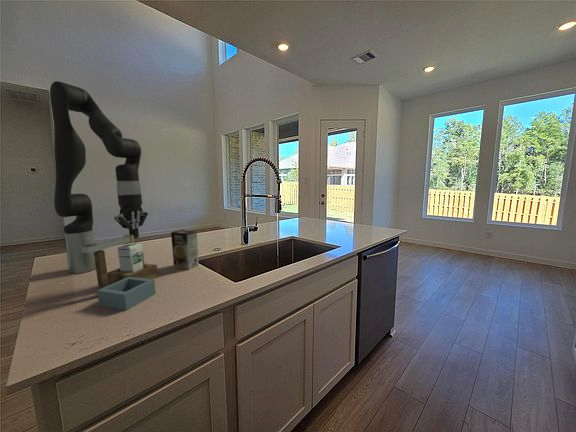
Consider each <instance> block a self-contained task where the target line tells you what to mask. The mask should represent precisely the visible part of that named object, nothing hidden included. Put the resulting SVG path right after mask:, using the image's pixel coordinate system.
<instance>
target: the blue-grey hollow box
mask: <svg viewBox="0 0 576 432" xmlns="http://www.w3.org/2000/svg"><path fill="white" fill-rule="evenodd" d="M155 283H156V282H155V279H144V278H136V277H127V278H125V279H122V280H120V281H118V282H115V283H113V284H111V285H108V286H106V287H104V288H102V289H99V288H98V290H96V293H97V299H98V306H100V307H106V308H111V309H118V310H122V311H128V310H130V309H132V308H133V307H135V306H136V305H139V304H140V303H142V302H144V301H145V300H147V299H149V298H150V297H152V296H154V295H156V294H157V293H156V284H155Z"/></svg>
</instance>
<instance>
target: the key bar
mask: <svg viewBox="0 0 576 432" xmlns="http://www.w3.org/2000/svg"><path fill="white" fill-rule="evenodd" d="M129 243H136V242H135V239H134V235H129V234H124V235H122V236H118V237H115V238H111V239H107V240H102V241H99V242H94V244H90V245H86V246H82V247H81V250H82V253H92V252H96V251H99V250H106V249H107V250H108V249H111V248H114V247H117V246H120V245H121V246H122V245H123V244H124V245H125V244H129Z"/></svg>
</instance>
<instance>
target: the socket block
mask: <svg viewBox="0 0 576 432" xmlns="http://www.w3.org/2000/svg"><path fill="white" fill-rule="evenodd" d="M94 258H95V265H96V269H95V272H96V278H97V286H98V290H99V289H102V288H104V287H106V286H108V285H111V284H113V283H115V282H118V281H120V280H122V279H125V278H127V277H136V278H144V279H152V280H155V279H156V278H158V277H159V275H158V274H159V273H158V265H157V264H151V263H144V265H145V268H143V269H141V270H139V271H136V272H134V273H125V272H121V270H120V267H119V268H115V269H113V270H110V271H108V270H107V260H106V255H105V249H103V250H99V251H96V252H94Z"/></svg>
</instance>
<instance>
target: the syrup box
mask: <svg viewBox="0 0 576 432" xmlns="http://www.w3.org/2000/svg"><path fill="white" fill-rule="evenodd" d="M117 253H118V261H119V268H120V270H121V272H125V273H134V272H136V271H139V270H141V269H143V268H145V265H144V264H145V258H144V250H143V244H142V243H139V242H128V243H126V244H124V245H121V246H120V245H119V246H118V247H117Z"/></svg>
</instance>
